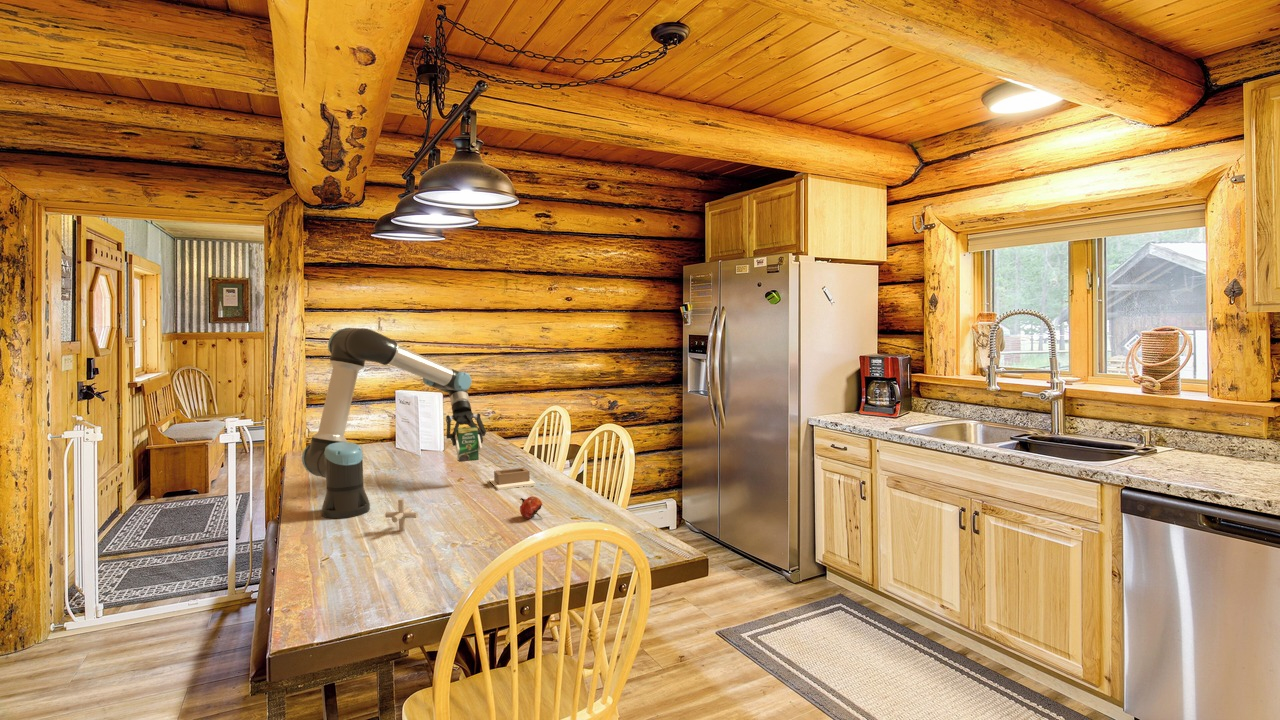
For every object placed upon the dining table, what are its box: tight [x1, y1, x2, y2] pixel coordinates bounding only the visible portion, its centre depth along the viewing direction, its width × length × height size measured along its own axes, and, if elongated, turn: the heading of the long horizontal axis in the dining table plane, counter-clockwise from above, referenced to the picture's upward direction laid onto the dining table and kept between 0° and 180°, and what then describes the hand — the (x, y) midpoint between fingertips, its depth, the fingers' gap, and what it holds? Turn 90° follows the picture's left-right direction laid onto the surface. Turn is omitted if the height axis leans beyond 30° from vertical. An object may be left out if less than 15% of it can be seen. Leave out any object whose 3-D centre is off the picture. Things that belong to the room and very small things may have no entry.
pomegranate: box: [519, 495, 544, 520], centre depth 215 cm, size 7×7×10 cm
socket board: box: [488, 467, 537, 491], centre depth 260 cm, size 15×15×5 cm
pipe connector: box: [384, 497, 419, 532], centre depth 204 cm, size 10×10×10 cm
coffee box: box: [456, 426, 480, 463], centre depth 257 cm, size 8×3×13 cm, turn 118°
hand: (469, 450), depth 254 cm, fingers closed on coffee box, 8 cm apart
